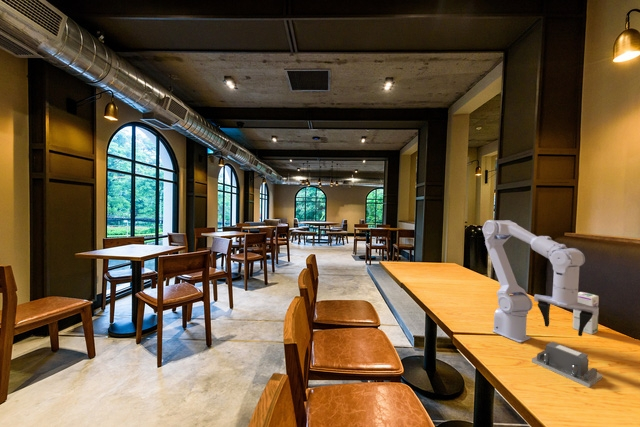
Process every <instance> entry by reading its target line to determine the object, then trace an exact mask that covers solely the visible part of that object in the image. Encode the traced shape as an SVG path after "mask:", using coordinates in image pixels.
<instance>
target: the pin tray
mask: <svg viewBox="0 0 640 427" xmlns="http://www.w3.org/2000/svg"><path fill="white" fill-rule="evenodd" d="M531 363H534V364H536V365H538V366H541V367H542V368H545V369H547V370H549V371H551V372H554V373H556V374H558V375H560V376H563V377H564V378H566V379H569V380H571V381H573V382H576V383H578V384H580V385H583V386H584V387H587V388H591V387H593V386H594V385H595V384H597V383H598V382H599V381H600V380H602V379H603V374H602V373H599V372H598V369H597V368H594V367H592V368H591V369H590V368H589V358H587V372H586V373H584V374H583V375H581V376H579V375H578V366H577V365H575V364H572V372H570V371H567V370H565V369H563V368H560V367H558V366H556V365H553V364H551V363H549V354H548V353H546V349H544V350H542V351H540V352H537V354H536V356H535V357H532V358H531Z"/></svg>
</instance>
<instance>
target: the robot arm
mask: <svg viewBox="0 0 640 427" xmlns="http://www.w3.org/2000/svg"><path fill="white" fill-rule="evenodd" d="M481 230H482V233H483V237H484V240H485V241H484V243H485V244H484V245H485V246H486V249H487V253H488V255H489V258H490V261H491V263H492V267H493V268H494V271H495V275H496V278H497V280H498V283H499V286H500V288H499V289H498V290H497V291H496V297H497V303H498V307H497V308H496V310H495V311H494V314H493V329H492V332H493V333H495V334H498V335H499V336H502V337H505V338H507V339H510V340H512V341H514V342H517V343H523V342H525V341H528V340H531V339H532V336H530V335H527V320H528V319H527V317H528V314H529V311H531V310H533V304H534V303H533V302H537V307H538V309H539V311H540V313H541V316H542V317H543V322H544V327H547V328H548V327H549V326H550V310H551V309H550V308H551V305H552V306H557V307H561V308H566V309H570V310H578V311H581V312H580V325H579V331H578V330H577V332H578V333H577V335H578V336H579V337H583V334H584V332H583V330H584V327H585V326H586V324H587V323H588V321H589V320H590V319H591V318H592V316H593V315H596V316H598V317H599V309H600V307H598V308H597V307H593V306H589V305H586V304H582V303H579V302H578V293H579V283H580V281H579V279H580V267H581V266H583V265H584V263H585V262H586V257H585V254H584V253H583V252H582V251H581V250H579V249H578V248H575V247H570V248H568V247H567V246H566V244H565V243H559V242H557V241H554V240H553V239H552V237H550V236H549V235H538V236H537V235H536V234H534V233H532V232H530V231H529V230H526V229H525V228H523V227H522V226H520V225H518V223H516V222H513V221H512V220H508V219H506V220H493V219H487V220H486V221H485V222H484V224H483V226H482V227H481ZM511 237H514V238H516V239H519V240H521V241H522V242H524V243H526V244H529V245H530V248H531V250H533V251H535V253H538V254H540V255H541V256H543V257H545V258H546V259H548V260H549V261H550V264H551V266H552V270H553V280H552V281H553V282H552V296H549V295H541V294H536V293H535V294H534V297H533V301H532V299H531V298H530V296H529V295H528V294H527V292H526V290H525V289H524V288H523V287H521V286H520V285H518V282H517V280H516V277H515V274H514V272H513V269H512V267H511V264H510V261H509V259H508V256H507V254H506V251H505V248H504V244H505V243H506V242H507V241H508V240H509V239H510V238H511Z"/></svg>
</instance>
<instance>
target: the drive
mask: <svg viewBox="0 0 640 427" xmlns="http://www.w3.org/2000/svg"><path fill="white" fill-rule="evenodd" d="M545 350H546V353H548V354H549V363H551V364H553V365H556V366H558V367H560V368H563V369H565V370H567V371H570V372H572V364H575V365H577V366H578V375H579V376H581V375H583V374H584V373H586V372H587V359H588V354H587V353H584V352H581V351H579V350H576V349H574V348H571V347H568V346H565V345H563V344H560V343H557V342H555V341H551V342H549V343H547V344H546V345H545Z"/></svg>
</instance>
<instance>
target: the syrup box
mask: <svg viewBox="0 0 640 427" xmlns="http://www.w3.org/2000/svg"><path fill="white" fill-rule="evenodd" d="M599 298H600V297H599V295H597V294H594V293H589V292H584V291H578V302H579V303H582V304H586V305H589V306H593V307H597V308H599V300H600V299H599ZM572 310H573V309H572ZM580 312H581V311H578V310H573V312H572V314H573V315H572V329H573V330H576V331H577V332H578V331H579V325H580ZM597 332H599V315H598V316H596V315H593V316H592V318H591V319H590V320H589V321H588V323H587V324H586V326H585V327H584V330H583V334H588V335H594V334H596V333H597Z"/></svg>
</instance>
